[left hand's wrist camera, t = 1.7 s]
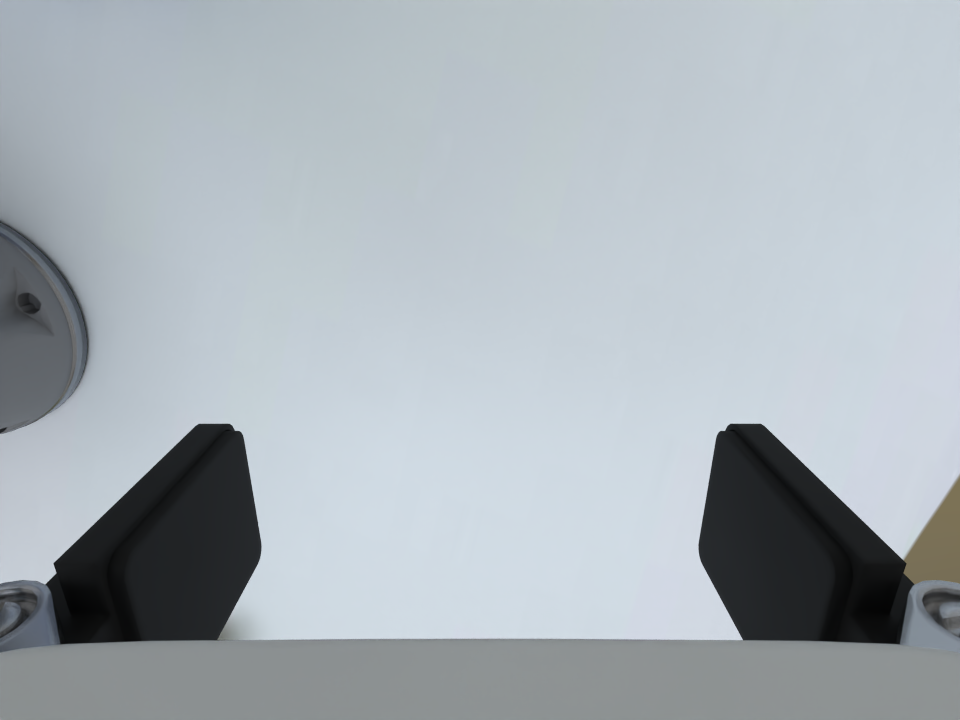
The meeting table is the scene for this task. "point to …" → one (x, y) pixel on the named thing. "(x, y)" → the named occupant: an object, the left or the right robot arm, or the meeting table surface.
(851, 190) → the meeting table surface
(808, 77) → the meeting table surface
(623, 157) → the meeting table surface
